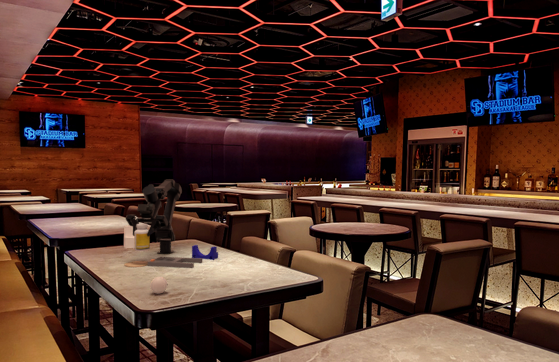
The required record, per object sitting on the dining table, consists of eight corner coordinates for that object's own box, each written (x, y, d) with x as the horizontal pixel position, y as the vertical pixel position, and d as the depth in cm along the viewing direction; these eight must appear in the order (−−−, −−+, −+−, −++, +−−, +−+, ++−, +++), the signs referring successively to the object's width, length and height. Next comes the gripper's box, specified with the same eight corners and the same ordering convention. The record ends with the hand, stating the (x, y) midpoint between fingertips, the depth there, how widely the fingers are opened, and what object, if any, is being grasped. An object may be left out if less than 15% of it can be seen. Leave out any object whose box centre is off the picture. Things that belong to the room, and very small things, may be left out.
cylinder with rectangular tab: (120, 248, 220) (120, 226, 220) (129, 245, 229) (129, 224, 229) (135, 248, 219) (135, 227, 219) (143, 246, 228) (144, 225, 228)
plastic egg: (167, 295, 133) (167, 278, 133) (150, 296, 132) (149, 279, 132) (167, 288, 141) (167, 273, 140) (150, 290, 139) (150, 274, 139)
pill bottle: (150, 250, 178) (150, 224, 178) (135, 252, 175) (135, 225, 175) (148, 248, 184) (148, 223, 183) (133, 249, 181) (133, 223, 181)
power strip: (160, 260, 188) (160, 255, 188) (202, 262, 185) (202, 257, 185) (147, 265, 177) (147, 260, 177) (192, 267, 173) (192, 262, 173)
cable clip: (218, 258, 195) (218, 246, 195) (213, 260, 191) (213, 247, 191) (197, 256, 199) (197, 244, 199) (192, 258, 195) (192, 246, 195)
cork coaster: (132, 261, 186) (132, 260, 186) (154, 262, 184) (154, 261, 184) (119, 266, 175) (119, 265, 175) (142, 267, 173) (142, 266, 173)
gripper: (127, 197, 184) (113, 224, 174) (165, 197, 181) (154, 225, 171) (136, 212, 192) (123, 239, 182) (172, 213, 189) (162, 240, 179)
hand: (140, 235), depth 178 cm, fingers closed on pill bottle, 6 cm apart
